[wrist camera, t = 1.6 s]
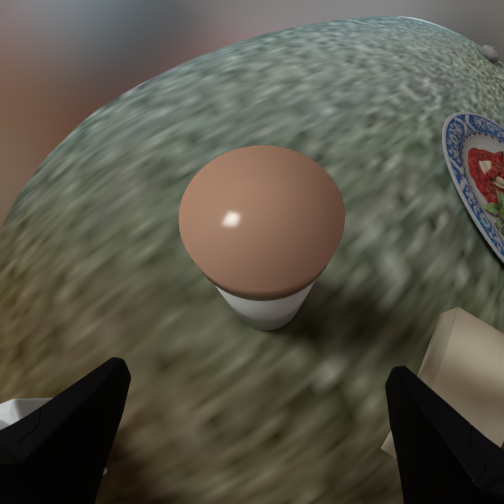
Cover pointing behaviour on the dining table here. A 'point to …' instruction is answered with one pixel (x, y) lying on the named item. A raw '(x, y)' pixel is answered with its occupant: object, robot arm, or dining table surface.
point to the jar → (262, 229)
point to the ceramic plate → (478, 171)
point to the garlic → (490, 53)
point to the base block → (466, 372)
